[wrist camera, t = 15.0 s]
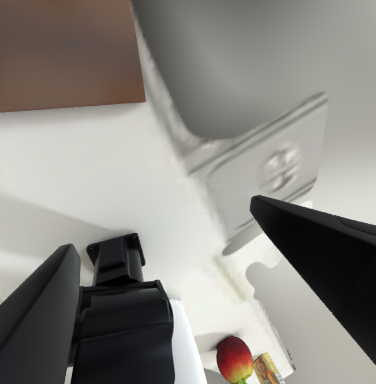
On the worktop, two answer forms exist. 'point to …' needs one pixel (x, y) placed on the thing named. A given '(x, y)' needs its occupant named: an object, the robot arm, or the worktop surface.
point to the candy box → (267, 370)
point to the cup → (185, 349)
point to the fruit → (234, 360)
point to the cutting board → (68, 54)
